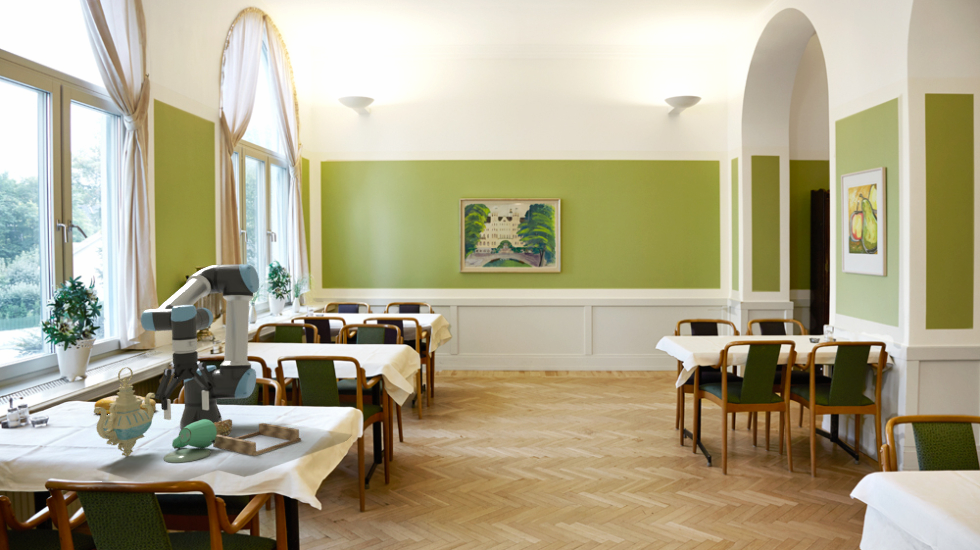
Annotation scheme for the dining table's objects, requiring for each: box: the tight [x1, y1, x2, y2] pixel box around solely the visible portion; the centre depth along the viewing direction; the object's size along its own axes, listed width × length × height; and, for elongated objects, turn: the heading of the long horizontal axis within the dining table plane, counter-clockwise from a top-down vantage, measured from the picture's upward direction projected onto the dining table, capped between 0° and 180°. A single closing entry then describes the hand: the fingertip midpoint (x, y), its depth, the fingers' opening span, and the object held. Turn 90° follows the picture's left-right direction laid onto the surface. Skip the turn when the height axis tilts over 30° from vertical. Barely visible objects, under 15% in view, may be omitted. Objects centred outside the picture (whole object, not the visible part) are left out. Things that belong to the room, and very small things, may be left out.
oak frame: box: [212, 422, 302, 457], centre depth 219 cm, size 22×20×4 cm
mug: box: [171, 419, 217, 450], centre depth 211 cm, size 15×10×10 cm
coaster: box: [163, 447, 211, 464], centre depth 205 cm, size 14×14×1 cm
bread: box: [93, 395, 157, 415], centre depth 267 cm, size 13×26×8 cm, turn 80°
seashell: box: [214, 418, 233, 437], centre depth 227 cm, size 9×8×10 cm
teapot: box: [93, 367, 156, 457], centre depth 206 cm, size 24×12×30 cm, turn 167°
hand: (187, 414), depth 206 cm, fingers open, 13 cm apart
